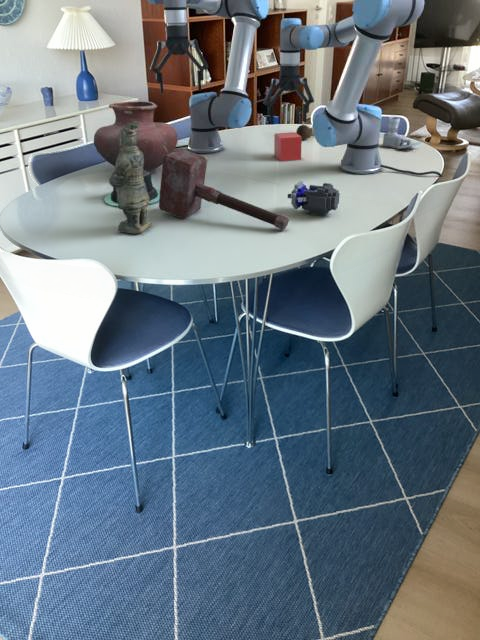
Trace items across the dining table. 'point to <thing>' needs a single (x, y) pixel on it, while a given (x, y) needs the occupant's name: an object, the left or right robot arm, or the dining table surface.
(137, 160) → the statue
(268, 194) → the dining table surface
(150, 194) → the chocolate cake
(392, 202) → the dining table surface
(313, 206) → the toy
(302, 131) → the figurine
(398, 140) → the grey boot
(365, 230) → the dining table surface
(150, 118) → the clay pot
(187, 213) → the sledgehammer
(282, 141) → the block
